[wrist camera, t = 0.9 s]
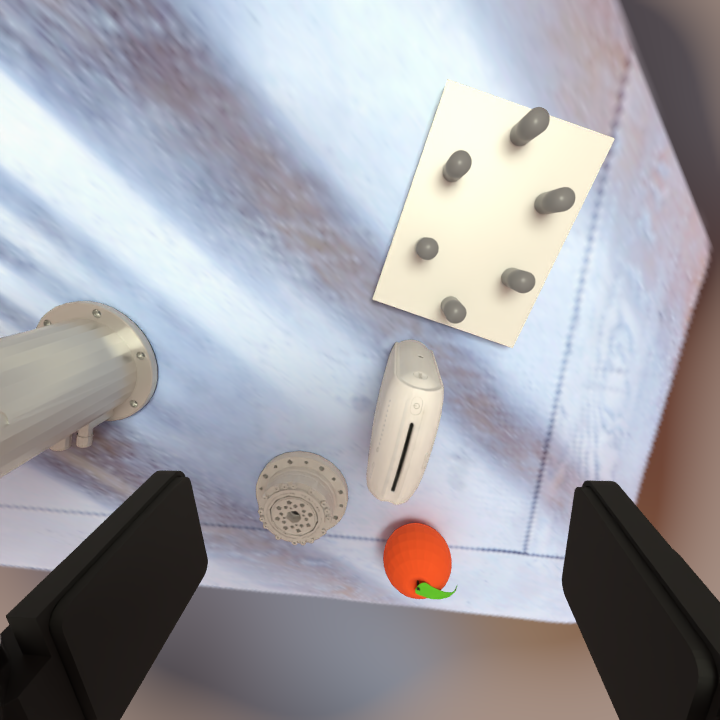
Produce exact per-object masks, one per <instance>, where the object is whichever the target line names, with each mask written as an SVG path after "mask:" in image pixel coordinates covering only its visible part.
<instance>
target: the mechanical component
mask: <svg viewBox="0 0 720 720" xmlns="http://www.w3.org/2000/svg"><path fill="white" fill-rule="evenodd" d="M256 498H257V501H258V505H259V510H258V513H259V514H260V518H259V519H260V521H261V522H263V527H264V528H266V529H268V530H269V531H270V532H271V533H272V534H274V535H275V538H276V539H277V540H280V539H283V540H285V541H289V542H292V544H293V545H297V543H301V545H305V544H306V542H309V543H313V542H314V540H316V539H319V538H320V537H321V536H323V535H325V534H326V531H327V530H329V529H330V528H332V527H334V526H335V525H336V524H337V523H338V522H339V521H340V520H341V518H342V517H343V515H344V513H345V510H346V506H347V502H348V488H347V484H346V481H345V478H344V477H343V475H342V474H341V472H340V471H339V470H338V469H337V468H336V467H335V466H334V464H333V463H331V462H330V461H328V460H326V459H325V458H323V457H321V456H319V455H316V454H313V453H309V452H302V451H296V452H287V453H284V454H282V455H279V456H277V457H275V458H274V459H273V460H271V461H270V462H269V463H268V464H267V465H266V467H265V468H264V470H263V471H262V473H261V474H260V476H259V479H258V482H257V485H256Z"/></svg>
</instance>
